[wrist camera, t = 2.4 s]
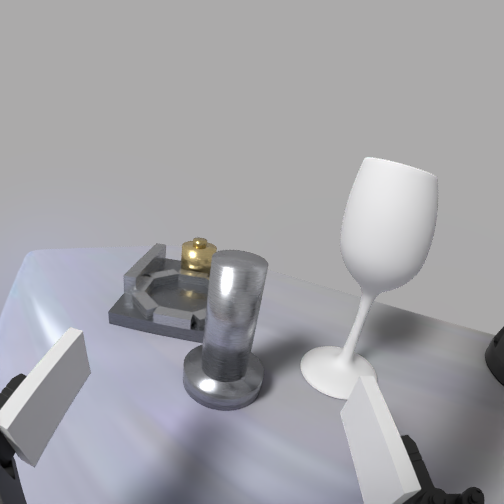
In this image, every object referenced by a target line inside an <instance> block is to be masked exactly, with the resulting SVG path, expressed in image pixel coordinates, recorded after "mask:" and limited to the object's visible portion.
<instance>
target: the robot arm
mask: <svg viewBox="0 0 504 504" xmlns="http://www.w3.org/2000/svg"><path fill="white" fill-rule="evenodd" d="M485 358H486V362H487V364H488V366H489V368H490V370H491V371H492V373H493V374H494V375H495V376H496V378H497V379H498V380H499V381H500V382H501V383H502V384H503V385H504V327H503V328H502V329H501V330H500V331H499V332H498V333H497V335H496V336H495V337H494V338H493V339H492V341H491V343H490V345H489V347H488V348H487V350H486V353H485ZM90 374H91V371H90V367H89V362H88V357H87V352H86V347H85V341H84V335H83V331H81V330H77V329H74V328H71V327H70V328H69V329H68V330H67V331H66V332H65V333H64V334H63V335H62V337H61V338H60V339H59V340H58V341H57V342H56V343H55V344H54V345H53V347H52V348H51V349H50V350H49V351H48V352H47V353H46V354H45V356H44V357H43V358H42V359H41V360H40V361H39V363H38V364H37V365H36V366H35V367H34V368H33V370H32V371H31V372H30V373H29V374H28V376H25V375H23V374H22V373H21V374H19V375H18V376H16V377H14V378H12V380H11V381H10V382H9V383H8V384H7V385H6V388H4V389H3V390H2V392H1V393H0V504H27V503H26V500H25V497H24V493H23V490H22V487H21V483H20V479H19V475H18V471H17V467H16V463H15V459H14V457H13V456H14V454H15V452H16V454H17V455H18V456H19V457H20V459H21V460H23V461H25V462H26V463H28V464H30V465H31V466H33V467H35V466H36V464H37V462H38V460H39V459H40V457H41V455H42V453H43V451H44V449H45V448H46V446H47V444H48V442H49V441H50V439H51V437H52V435H53V434H54V432H55V430H56V429H57V427H58V425H59V423H60V422H61V420H62V418H63V417H64V415H65V413H66V412H67V410H68V408H69V407H70V405H71V404H72V402H73V400H74V399H75V397H76V396H77V394H78V392H79V391H80V389H81V388H82V386H83V385H84V383H85V381H86V380H87V378H88V377H89V375H90ZM340 414H341V418H342V421H343V425H344V429H345V432H346V436H347V440H348V443H349V447H350V451H351V454H352V458H353V462H354V466H355V470H356V474H357V478H358V482H359V486H360V490H361V494H362V498H363V502H364V504H484V494H483V493H482V491H481V490H480V489H479V488H476V487H470V488H468V489H467V490H466V491H464V492H463V493H462V494H446V493H445V492H444V491H443V490H441V489H438V488H435V487H434V485H433V483H432V481H431V478H430V476H429V474H428V471H427V469H426V466H425V464H424V462H423V461H422V457H421V455H420V454H419V450H418V448H417V446H416V443H415V442H414V441H413V440H412V439H411V438H410V437H409V436H408V435H405V436H400V434H399V432H398V430H397V427H396V425H395V423H394V420H393V418H392V416H391V414H390V411H389V409H388V407H387V405H386V402H385V400H384V398H383V396H382V394H381V391H380V389H379V387H378V385H377V383H376V381H375V378H374V376H359V378H358V380H357V382H356V384H355V386H354V388H353V390H352V392H351V394H350V396H349V398H348V400H347V402H346V403H345V405H344V407H343V409H342V411H341V412H340Z"/></svg>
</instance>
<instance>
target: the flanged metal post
mask: <svg viewBox="0 0 504 504" xmlns="http://www.w3.org/2000/svg"><path fill="white" fill-rule="evenodd" d="M267 269H268V262H267V261H266V260H265V259H264V258H262V257H260V256H258V255H256V254H253V253H249V252H245V251H239V250H223V251H218V252H215V253H214V254H213V255H212V261H211V270H210V278H209V287H208V297H207V306H206V316H205V326H204V337H203V345H200V346H198V347H196V348H194V349H192V350H191V351H190V352H189V353H188V354H187V356H186V357H185V360H184V374H183V383H184V387H185V390H186V391H187V393H188V394H189V395H190V397H191V398H193V399H194V400H195V401H196V402H198V403H199V404H201V405H203V406H206V407H208V408H211V409H216V410H223V411H229V410H236V409H240V408H243V407H246V406H248V405H249V404H251V403H252V402H253V401H254V400H255V399H256V398H257V396H258V394H259V391H260V387H261V384H262V380H263V376H264V368H263V365H262V363H261V361H260V360H259V359H258V358H257V357H256V356H255V355H254V354H253V353H252V352H251V349H252V344H253V339H254V334H255V329H256V324H257V320H258V315H259V310H260V305H261V300H262V294H263V289H264V284H265V279H266V274H267Z"/></svg>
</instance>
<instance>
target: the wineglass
mask: <svg viewBox="0 0 504 504" xmlns="http://www.w3.org/2000/svg"><path fill="white" fill-rule="evenodd" d="M437 208H438V179H437V177H436V176H435V175H433V174H431V173H428V172H426V171H423V170H420V169H418V168H414V167H411V166H408V165H404V164H401V163H397V162H393V161H388V160H383V159H378V158H372V157H366V158H365V159H364V161H363V163H362V165H361V167H360V169H359V172H358V174H357V176H356V179H355V182H354V184H353V187H352V190H351V192H350V195H349V198H348V201H347V205H346V208H345V213H344V217H343V222H342V228H341V235H340V249H341V254H342V257H343V260H344V263H345V265H346V267H347V269H348V271H349V272H350V274H351V275H352V276H353V278H354V279H355V280H356V281H357V282H358V284H359V285H360V287H361V289H362V296H361V302H360V306H359V310H358V313H357V316H356V319H355V322H354V325H353V327H352V330H351V332H350V334H349V337H348V339H347V341H346V343H345V345H344V347H343V348H341V347H335V346H323V347H318V348H314V349H312V350H310V351H308V352H307V353H306V354H305V355H304V356H303V357H302V359H301V363H300V367H301V372H302V374H303V376H304V378H305V379H306V381H307V382H308V383H309V384H310V385H311V386H312V387H314V388H315V389H316V390H318V391H319V392H321V393H323V394H325V395H328V396H330V397H334V398H338V399H345V400H348V398H349V396H350V394H351V392H352V390H353V388H354V386H355V384H356V382H357V380H358V378H359V376H374V378H375V381H376V383H377V374H376V372H375V370H374V368H373V366H372V365H371V364H370V363H369V362H368V361H367V360H366V359H365V358H364V357H362V356H361V355H359V354H357V353H355V352H354V351H355V348H356V345H357V341H358V339H359V336H360V333H361V330H362V327H363V325H364V322H365V319H366V317H367V314H368V312H369V310H370V307H371V305H372V303H373V301H374V299H375V298H376V297H377V295H379V294H380V293H382V292H385V291H389V290H393V289H396V288H399V287H401V286H403V285H404V284H406V283H407V282H409V281H410V280H411V279H413V278H414V276H416V275H417V273H418V272H419V271H420V269H421V268H422V266H423V264H424V262H425V260H426V257H427V255H428V252H429V249H430V246H431V242H432V240H433V236H434V231H435V226H436V218H437Z"/></svg>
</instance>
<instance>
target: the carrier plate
mask: <svg viewBox="0 0 504 504" xmlns="http://www.w3.org/2000/svg"><path fill="white" fill-rule="evenodd" d="M216 250H217V248H216V246H214V245H213V244H210V243H207V240H206V239H204V238H194V239H193V241H188V242H185V243H183V245H182V257H181V261H178V260H172V259H166V258H165V256H166V245H164V244H156V245H154V246H153V247H152V248H151V249H150V250H149V251H148V252H147V253H146V254H145V255H144V256H143V257H142V258H141V259H140V260H139V261H138V262H137V263H136V264H135V265H134V266H133V267H132V268H131V269H130V270H129V271H128V272H127V273H126V274H125V275H124V294H123V295H122V296H121V297H120V299H119V300H118V301H117V302H116V303H115V305H114V306H113V307H112V308H111V309H110V310H109V312H108V314H109V323H111V324H115V325H119V326H123V327H127V328H132V329H136V330H140V331H145V332H149V333H154V334H159V335H163V336H168V337H173V338H179V339H184V340H189V341H195V342H201V343H203V337H204V326H205V316H206V306H207V297H208V287H209V278H210V270H211V261H212V255H213V254H214V253H215V252H216Z"/></svg>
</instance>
